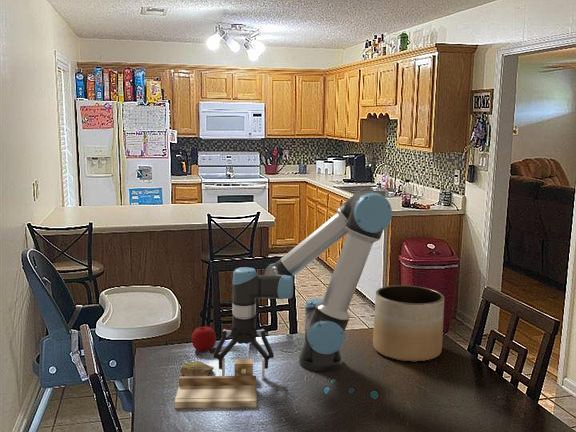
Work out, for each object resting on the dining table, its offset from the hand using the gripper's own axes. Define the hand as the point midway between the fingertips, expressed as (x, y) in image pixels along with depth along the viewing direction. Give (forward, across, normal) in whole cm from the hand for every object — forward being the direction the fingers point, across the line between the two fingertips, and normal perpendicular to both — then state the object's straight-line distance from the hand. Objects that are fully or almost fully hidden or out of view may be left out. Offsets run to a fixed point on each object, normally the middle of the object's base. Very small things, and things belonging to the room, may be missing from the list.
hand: (243, 377), depth 191 cm
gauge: (0, 0, +2) cm, 2 cm away
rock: (+1, +16, -4) cm, 16 cm away
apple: (0, +15, -25) cm, 29 cm away
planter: (0, -61, -23) cm, 65 cm away
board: (0, +8, +14) cm, 16 cm away
